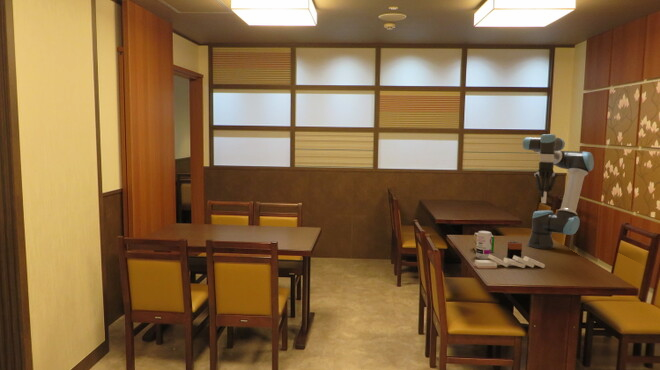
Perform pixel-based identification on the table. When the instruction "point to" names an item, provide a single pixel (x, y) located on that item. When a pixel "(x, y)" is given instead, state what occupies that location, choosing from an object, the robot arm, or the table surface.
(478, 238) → the supplement can
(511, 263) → the domino
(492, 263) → the domino
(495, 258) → the domino
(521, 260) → the domino
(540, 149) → the robot arm
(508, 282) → the table surface
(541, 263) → the domino
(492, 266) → the domino
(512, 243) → the battery
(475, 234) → the puzzle cube
